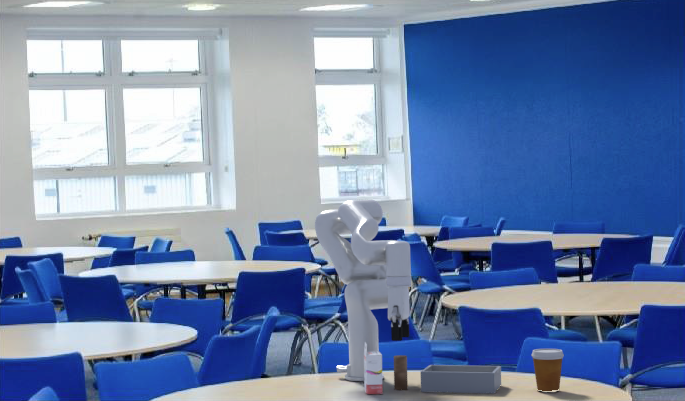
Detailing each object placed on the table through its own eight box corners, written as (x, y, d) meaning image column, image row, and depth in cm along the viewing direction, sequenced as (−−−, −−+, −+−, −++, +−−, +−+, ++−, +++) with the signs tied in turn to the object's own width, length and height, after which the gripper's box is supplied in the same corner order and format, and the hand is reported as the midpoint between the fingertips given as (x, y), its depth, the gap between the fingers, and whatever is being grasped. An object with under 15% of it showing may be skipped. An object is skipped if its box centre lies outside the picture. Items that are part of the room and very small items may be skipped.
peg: (393, 390, 368) (392, 356, 368) (396, 387, 372) (395, 355, 371) (406, 390, 367) (405, 357, 367) (408, 388, 370) (408, 355, 370)
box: (420, 391, 363) (420, 371, 363) (430, 384, 377) (429, 364, 377) (494, 393, 357) (494, 372, 357) (501, 385, 371) (500, 366, 371)
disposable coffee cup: (545, 395, 353) (544, 353, 353) (525, 390, 361) (524, 350, 361) (571, 391, 357) (570, 350, 357) (551, 387, 366) (550, 347, 366)
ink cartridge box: (383, 394, 361) (382, 344, 361) (366, 394, 361) (365, 345, 361) (380, 389, 370) (379, 340, 369) (364, 390, 369) (362, 341, 369)
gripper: (393, 280, 378) (394, 335, 378) (379, 284, 361) (381, 342, 361) (416, 280, 376) (418, 335, 376) (404, 283, 359) (406, 342, 359)
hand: (400, 338), depth 368 cm, fingers open, 9 cm apart
